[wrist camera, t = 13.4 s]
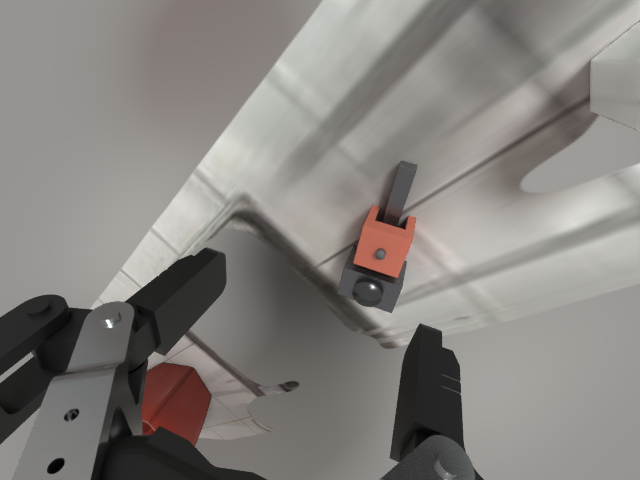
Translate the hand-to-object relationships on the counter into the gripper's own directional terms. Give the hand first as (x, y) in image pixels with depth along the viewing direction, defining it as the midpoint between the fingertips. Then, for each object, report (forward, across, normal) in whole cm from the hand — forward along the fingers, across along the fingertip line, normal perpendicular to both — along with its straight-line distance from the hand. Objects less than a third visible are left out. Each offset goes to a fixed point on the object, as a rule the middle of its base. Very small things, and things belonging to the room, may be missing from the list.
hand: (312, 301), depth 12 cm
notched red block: (+30, -2, +13) cm, 33 cm away
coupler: (+30, -2, +13) cm, 33 cm away
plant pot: (+30, +39, +79) cm, 93 cm away
